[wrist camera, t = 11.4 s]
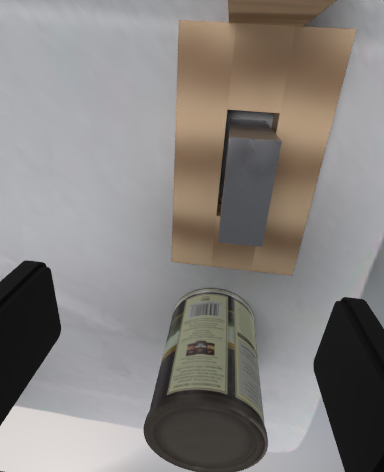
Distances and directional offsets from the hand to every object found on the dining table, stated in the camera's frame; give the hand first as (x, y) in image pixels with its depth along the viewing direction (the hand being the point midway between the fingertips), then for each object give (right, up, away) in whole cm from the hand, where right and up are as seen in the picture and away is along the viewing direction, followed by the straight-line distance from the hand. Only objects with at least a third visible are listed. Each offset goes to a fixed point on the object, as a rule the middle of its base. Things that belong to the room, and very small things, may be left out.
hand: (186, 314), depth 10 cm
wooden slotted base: (+5, +12, +17) cm, 21 cm away
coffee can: (+3, -8, +27) cm, 29 cm away
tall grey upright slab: (+5, +10, +18) cm, 21 cm away
